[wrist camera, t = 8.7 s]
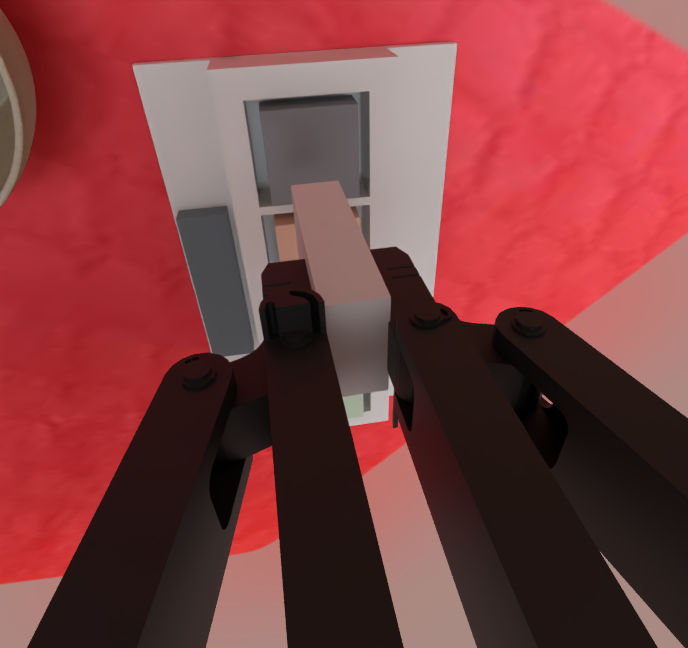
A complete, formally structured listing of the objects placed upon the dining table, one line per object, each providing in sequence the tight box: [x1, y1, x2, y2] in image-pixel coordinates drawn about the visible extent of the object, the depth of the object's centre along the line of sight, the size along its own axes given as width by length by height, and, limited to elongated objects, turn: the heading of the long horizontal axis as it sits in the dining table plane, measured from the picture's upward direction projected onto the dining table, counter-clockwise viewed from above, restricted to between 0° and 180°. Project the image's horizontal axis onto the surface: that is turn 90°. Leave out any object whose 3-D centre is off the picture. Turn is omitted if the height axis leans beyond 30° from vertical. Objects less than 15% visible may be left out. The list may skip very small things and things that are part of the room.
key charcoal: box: [259, 95, 360, 206], centre depth 22 cm, size 4×4×2 cm
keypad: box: [132, 41, 457, 426], centre depth 27 cm, size 14×22×3 cm, turn 2°
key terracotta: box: [274, 206, 360, 262], centre depth 25 cm, size 4×4×2 cm
